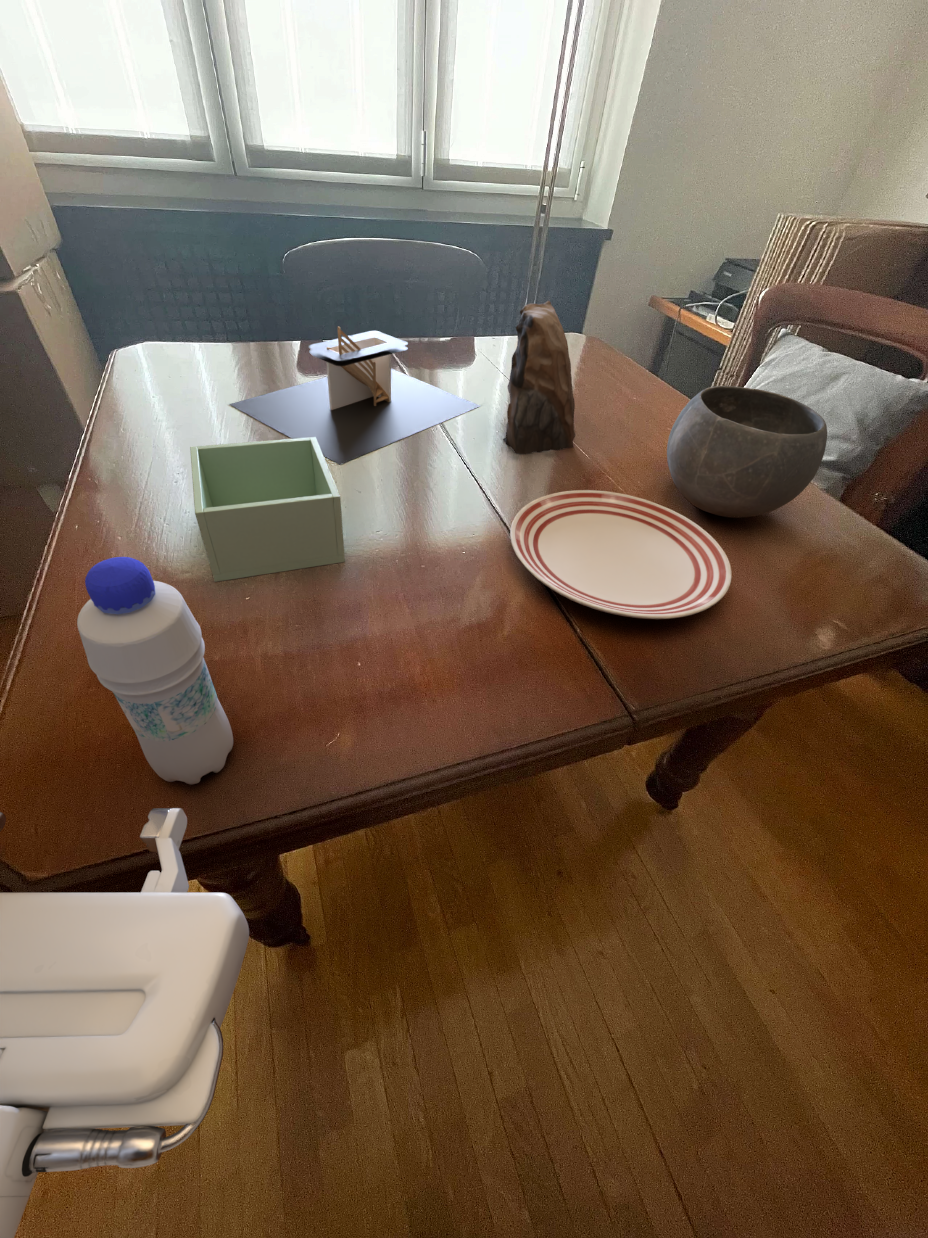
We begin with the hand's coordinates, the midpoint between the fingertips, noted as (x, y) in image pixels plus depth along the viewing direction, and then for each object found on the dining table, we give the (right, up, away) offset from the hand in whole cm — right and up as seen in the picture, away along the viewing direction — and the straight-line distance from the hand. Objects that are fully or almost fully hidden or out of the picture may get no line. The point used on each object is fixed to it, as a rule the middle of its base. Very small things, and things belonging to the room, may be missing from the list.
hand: (80, 811), depth 29 cm
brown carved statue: (+33, +41, +65) cm, 84 cm away
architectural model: (+2, +49, +69) cm, 85 cm away
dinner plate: (+40, +18, +41) cm, 60 cm away
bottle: (-1, -1, +16) cm, 16 cm away
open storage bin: (-3, +21, +38) cm, 44 cm away
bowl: (+60, +28, +55) cm, 86 cm away
